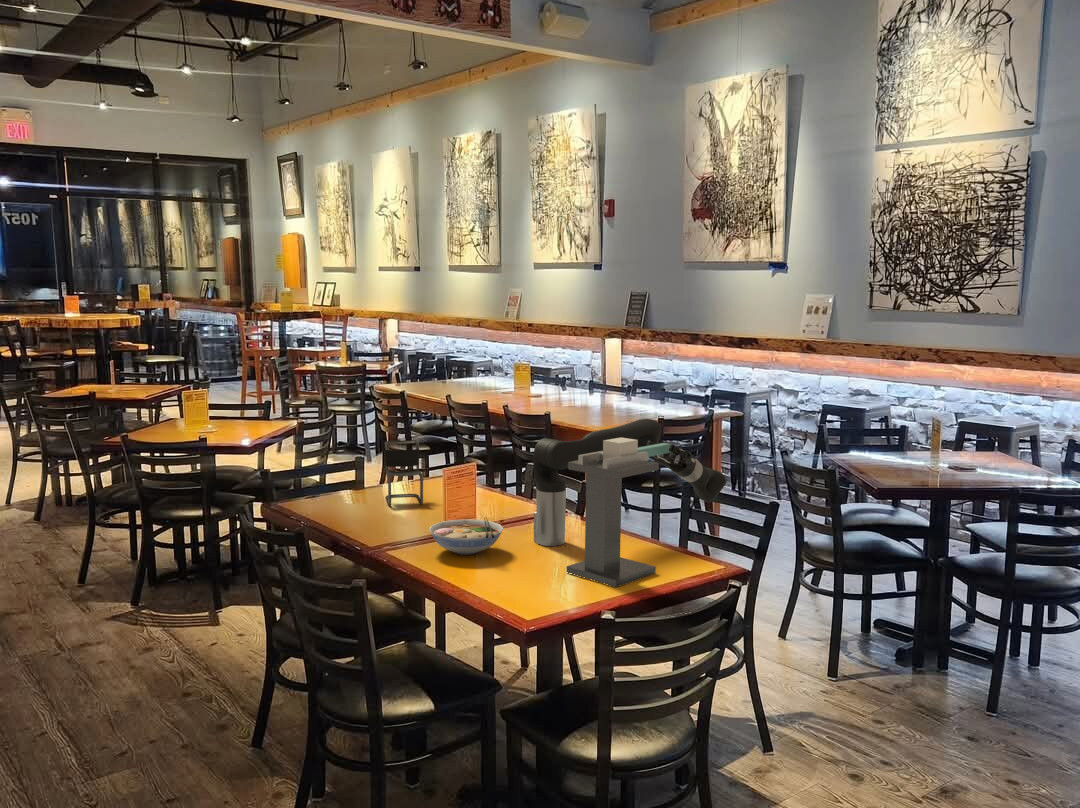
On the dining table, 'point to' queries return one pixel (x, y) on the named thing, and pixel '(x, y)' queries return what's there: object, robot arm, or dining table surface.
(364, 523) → the dining table surface
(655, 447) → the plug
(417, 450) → the chair
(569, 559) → the dining table surface
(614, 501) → the stand
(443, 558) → the dining table surface
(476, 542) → the ramen bowl
